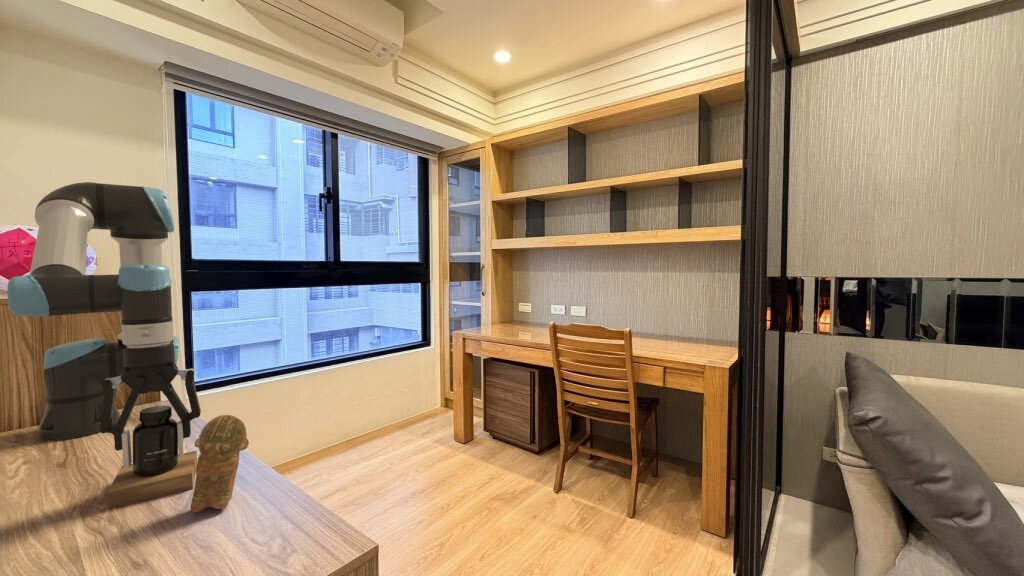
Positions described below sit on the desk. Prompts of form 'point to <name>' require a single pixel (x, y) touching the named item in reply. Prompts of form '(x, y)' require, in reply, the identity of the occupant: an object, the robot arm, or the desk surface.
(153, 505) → the desk surface
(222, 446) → the figurine
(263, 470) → the desk surface
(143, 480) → the pedestal
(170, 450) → the supplement bottle
